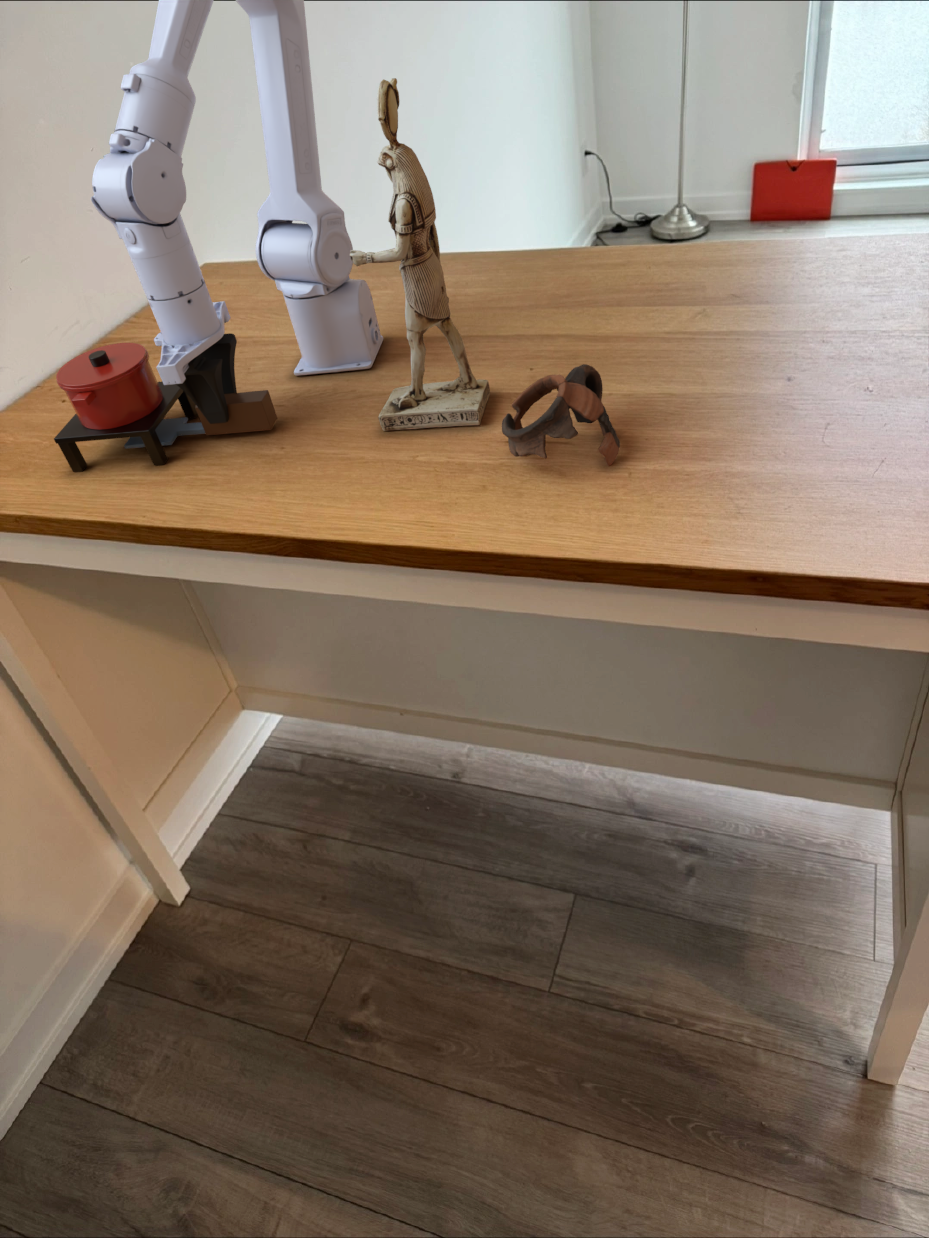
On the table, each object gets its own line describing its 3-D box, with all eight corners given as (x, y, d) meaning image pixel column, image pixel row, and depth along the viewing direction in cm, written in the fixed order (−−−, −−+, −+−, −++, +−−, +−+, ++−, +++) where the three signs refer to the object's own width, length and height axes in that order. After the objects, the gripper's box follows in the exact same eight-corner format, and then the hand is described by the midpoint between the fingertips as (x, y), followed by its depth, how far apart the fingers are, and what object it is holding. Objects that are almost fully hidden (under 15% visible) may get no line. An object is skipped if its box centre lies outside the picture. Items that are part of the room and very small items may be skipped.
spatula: (281, 411, 95) (271, 383, 93) (267, 437, 91) (257, 408, 89) (143, 424, 98) (131, 396, 96) (125, 448, 94) (111, 421, 92)
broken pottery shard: (612, 489, 76) (556, 426, 72) (532, 510, 83) (477, 453, 79) (648, 392, 81) (598, 327, 77) (570, 419, 88) (520, 361, 84)
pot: (202, 409, 100) (167, 322, 93) (162, 469, 91) (120, 378, 84) (116, 417, 102) (76, 333, 96) (68, 476, 93) (20, 388, 87)
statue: (397, 397, 95) (323, 81, 75) (492, 391, 92) (441, 62, 72) (381, 432, 89) (297, 103, 70) (481, 427, 87) (423, 84, 67)
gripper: (165, 264, 90) (211, 384, 99) (106, 325, 80) (164, 453, 89) (228, 256, 89) (270, 379, 98) (177, 317, 78) (229, 448, 87)
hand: (224, 414), depth 93 cm, fingers closed on spatula, 2 cm apart
